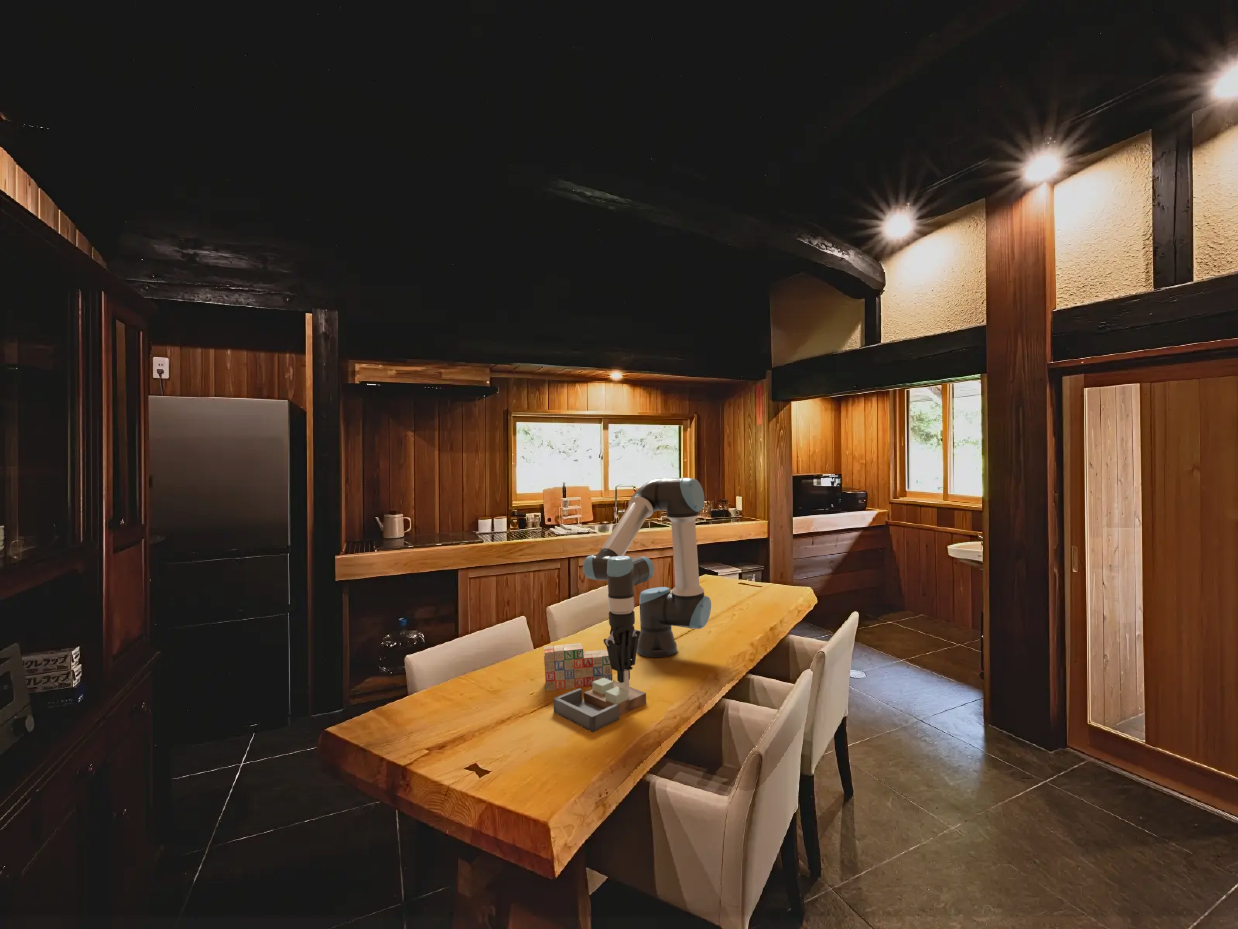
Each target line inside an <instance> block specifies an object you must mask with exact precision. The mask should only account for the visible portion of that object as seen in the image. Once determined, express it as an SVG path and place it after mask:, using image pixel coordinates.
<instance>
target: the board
mask: <svg viewBox="0 0 1238 929" xmlns="http://www.w3.org/2000/svg"><path fill="white" fill-rule="evenodd" d="M612 681H613V682H614V688H615V687H619V682H618V681H616V680H613V679H612ZM583 701H585V702H587V703H590V704H592V705H594V706H596V707H598V708H601V709H605V708H607V707H610V706H612V705H614V704H613V703H611V702H609V701H606V695H605V694H603V695H602V694H600V693H598V692H595V691H593V690H592V689H590V690H586V691H584V692H583ZM645 704H647V693H646V692H644V691H642V690H640V689H636V688H634V687H631V686H629V693H628V700H626V701H624V702H622V703H619V704H617V705H619V717H620V716H623V715H624V714H626V713H629V712H631V711H633V710H635V709H637V708H640V707H642V706H644V705H645Z"/></svg>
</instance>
